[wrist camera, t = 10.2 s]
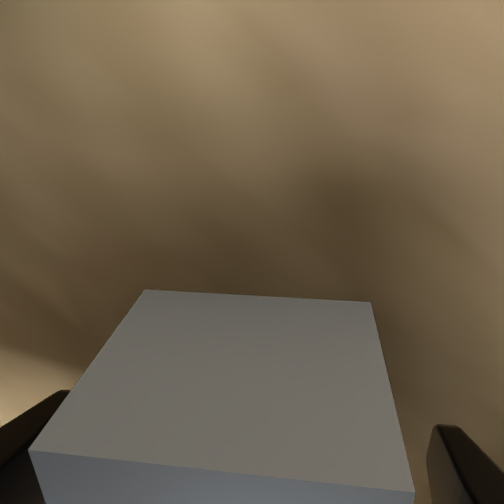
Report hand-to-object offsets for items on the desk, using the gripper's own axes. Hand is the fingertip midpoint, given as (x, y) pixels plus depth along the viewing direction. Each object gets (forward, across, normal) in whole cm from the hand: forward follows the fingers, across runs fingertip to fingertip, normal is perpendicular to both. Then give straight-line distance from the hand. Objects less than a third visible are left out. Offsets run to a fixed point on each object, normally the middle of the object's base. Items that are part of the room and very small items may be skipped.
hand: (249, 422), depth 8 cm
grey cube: (+1, 0, 0) cm, 1 cm away
